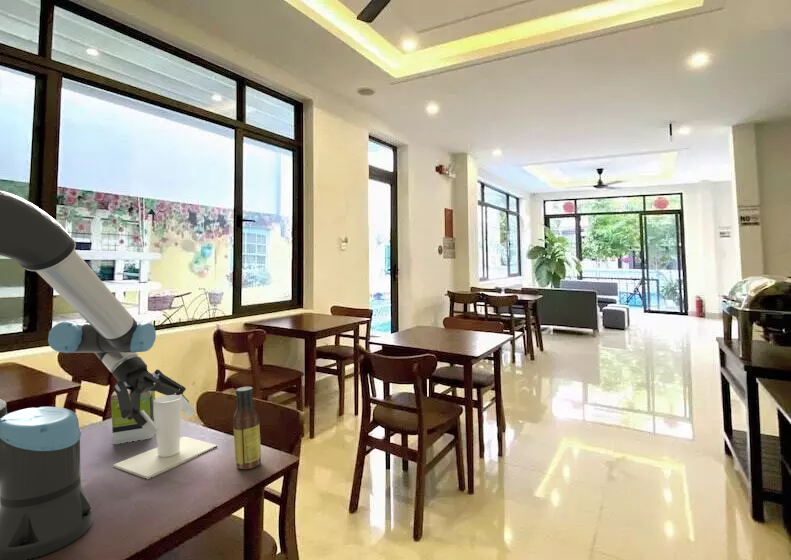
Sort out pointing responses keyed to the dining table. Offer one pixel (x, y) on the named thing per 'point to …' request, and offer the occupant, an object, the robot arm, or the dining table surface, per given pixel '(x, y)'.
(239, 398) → the sauce bottle
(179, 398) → the white cup
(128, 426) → the tea box
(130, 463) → the placemat
